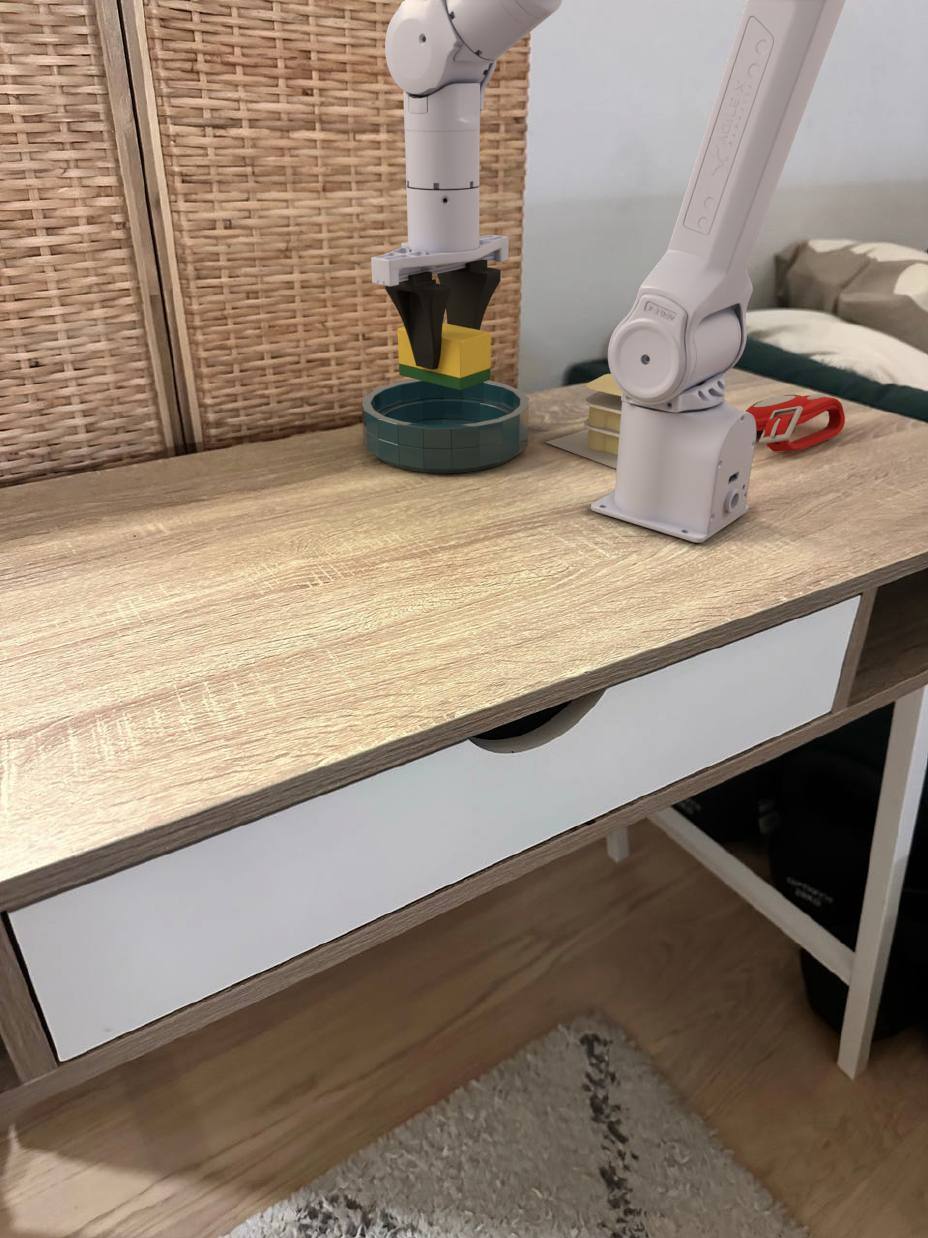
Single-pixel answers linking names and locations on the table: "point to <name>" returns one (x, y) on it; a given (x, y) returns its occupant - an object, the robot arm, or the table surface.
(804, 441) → the red buckle strap
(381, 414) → the bowl
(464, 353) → the sponge
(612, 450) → the stacked layers on plate
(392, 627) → the table surface
